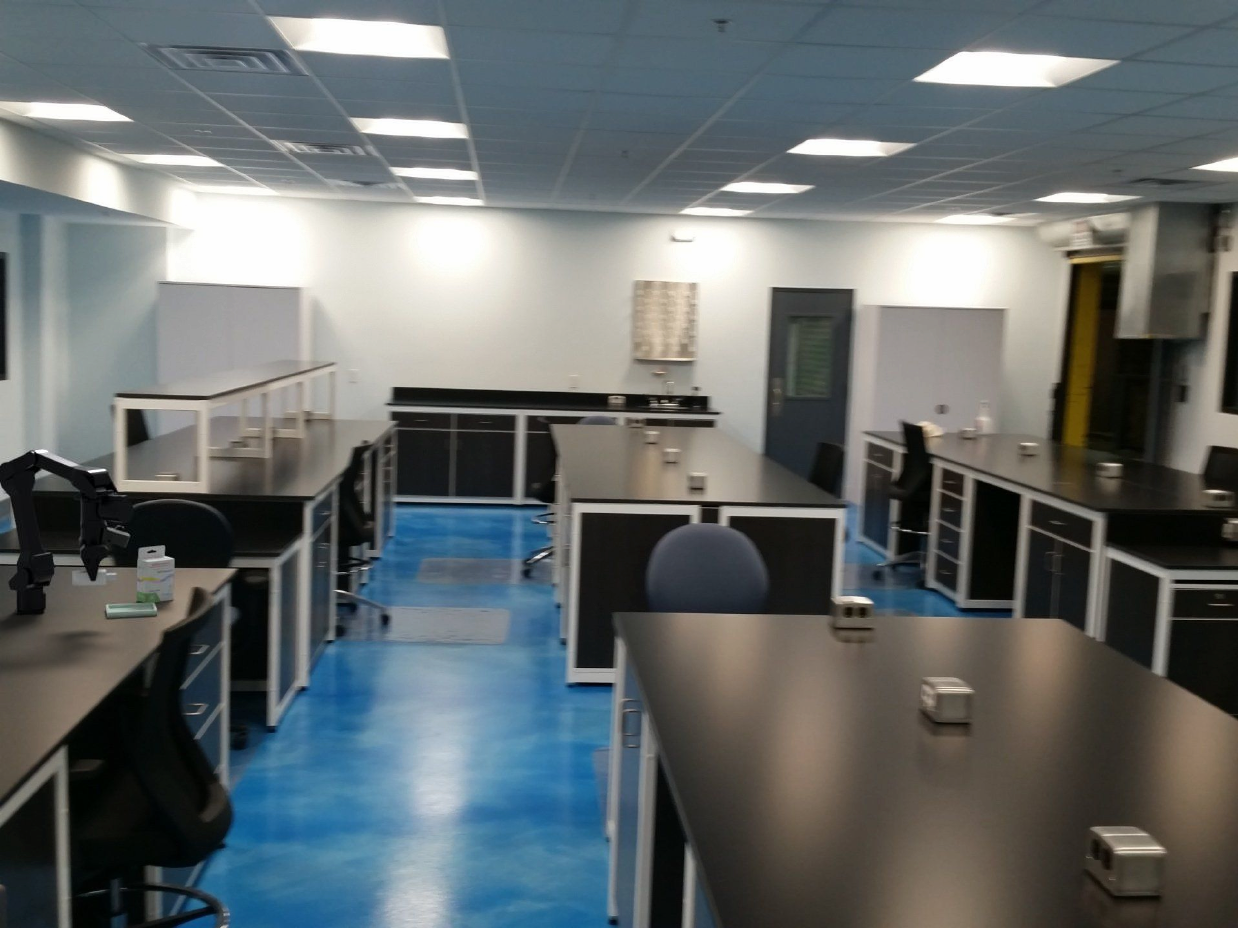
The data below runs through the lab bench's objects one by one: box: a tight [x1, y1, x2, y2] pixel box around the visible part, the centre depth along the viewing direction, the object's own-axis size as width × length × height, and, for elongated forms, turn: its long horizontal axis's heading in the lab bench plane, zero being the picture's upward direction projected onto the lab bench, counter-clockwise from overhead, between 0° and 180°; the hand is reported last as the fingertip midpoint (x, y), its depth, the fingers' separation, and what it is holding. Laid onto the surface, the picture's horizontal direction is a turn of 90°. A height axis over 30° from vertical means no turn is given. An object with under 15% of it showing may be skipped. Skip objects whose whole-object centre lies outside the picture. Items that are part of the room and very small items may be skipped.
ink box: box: [136, 545, 175, 603], centre depth 326 cm, size 9×5×15 cm, turn 143°
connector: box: [71, 568, 117, 587], centre depth 299 cm, size 10×4×3 cm, turn 116°
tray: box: [105, 602, 158, 619], centre depth 312 cm, size 12×9×1 cm
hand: (92, 579), depth 299 cm, fingers closed on connector, 4 cm apart
